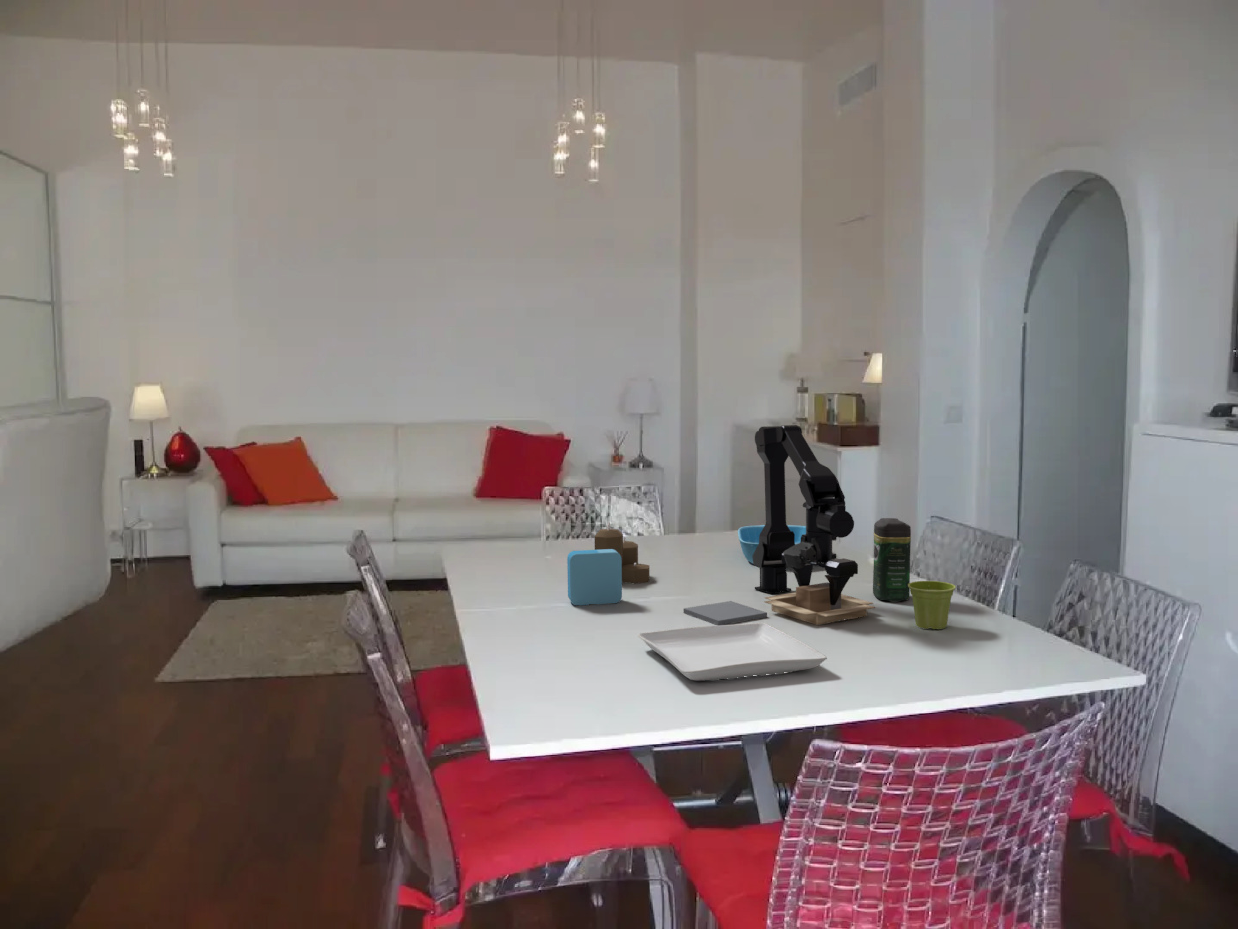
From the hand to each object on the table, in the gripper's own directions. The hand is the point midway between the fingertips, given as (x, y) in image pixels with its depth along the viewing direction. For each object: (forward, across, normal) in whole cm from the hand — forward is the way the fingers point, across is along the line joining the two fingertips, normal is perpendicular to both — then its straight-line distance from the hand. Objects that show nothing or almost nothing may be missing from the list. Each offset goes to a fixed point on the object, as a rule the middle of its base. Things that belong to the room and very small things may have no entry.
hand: (818, 600), depth 224 cm
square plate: (+3, +18, -38) cm, 42 cm away
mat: (+3, -10, -18) cm, 21 cm away
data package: (+3, -36, -36) cm, 51 cm away
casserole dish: (+3, -56, +35) cm, 66 cm away
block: (+3, 0, 0) cm, 3 cm away
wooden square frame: (+3, 0, 0) cm, 3 cm away
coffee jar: (+3, -2, +24) cm, 24 cm away
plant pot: (+3, +21, +12) cm, 24 cm away
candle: (+3, -55, -18) cm, 58 cm away
